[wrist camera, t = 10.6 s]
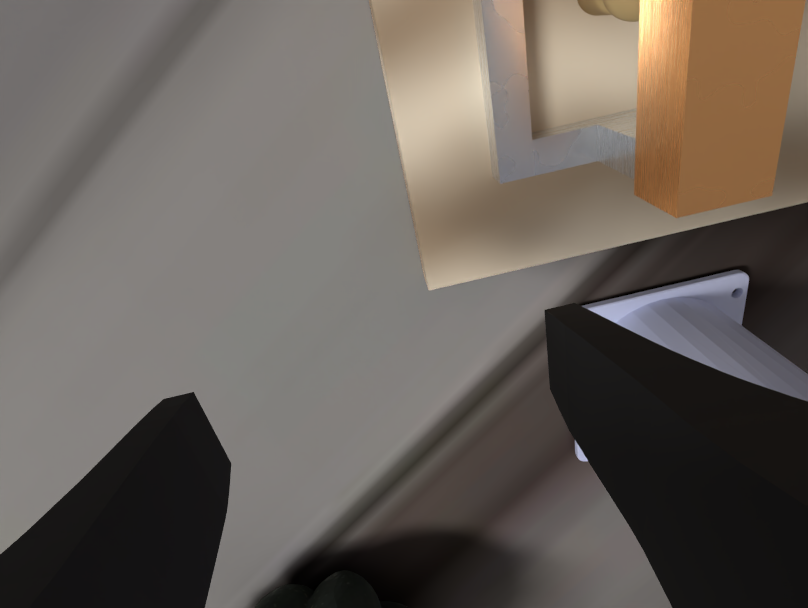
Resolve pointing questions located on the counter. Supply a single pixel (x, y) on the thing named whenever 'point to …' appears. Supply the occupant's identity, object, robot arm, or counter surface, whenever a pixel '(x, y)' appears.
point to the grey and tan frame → (659, 102)
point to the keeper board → (549, 107)
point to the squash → (328, 594)
